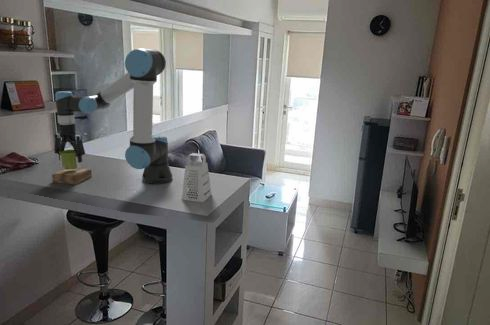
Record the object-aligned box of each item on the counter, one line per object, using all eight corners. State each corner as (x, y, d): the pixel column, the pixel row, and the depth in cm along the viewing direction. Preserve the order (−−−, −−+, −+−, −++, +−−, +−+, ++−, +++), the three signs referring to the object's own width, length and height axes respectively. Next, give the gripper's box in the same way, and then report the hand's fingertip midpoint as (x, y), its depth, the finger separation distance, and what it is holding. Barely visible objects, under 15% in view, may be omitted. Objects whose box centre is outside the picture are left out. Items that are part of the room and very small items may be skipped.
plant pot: (72, 164, 195) (71, 148, 192) (85, 167, 191) (84, 150, 188) (57, 169, 187) (55, 152, 184) (70, 171, 183) (68, 154, 180)
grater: (203, 202, 165) (203, 158, 159) (181, 199, 167) (180, 156, 162) (211, 194, 174) (211, 152, 169) (191, 191, 177) (190, 150, 172)
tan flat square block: (91, 176, 195) (91, 168, 194) (75, 184, 183) (75, 176, 182) (70, 174, 198) (69, 166, 196) (52, 182, 185) (51, 173, 184)
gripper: (90, 123, 184) (94, 167, 190) (53, 120, 188) (58, 163, 194) (81, 126, 177) (85, 171, 183) (42, 123, 181) (48, 167, 187)
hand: (71, 167), depth 189 cm, fingers closed on plant pot, 8 cm apart
